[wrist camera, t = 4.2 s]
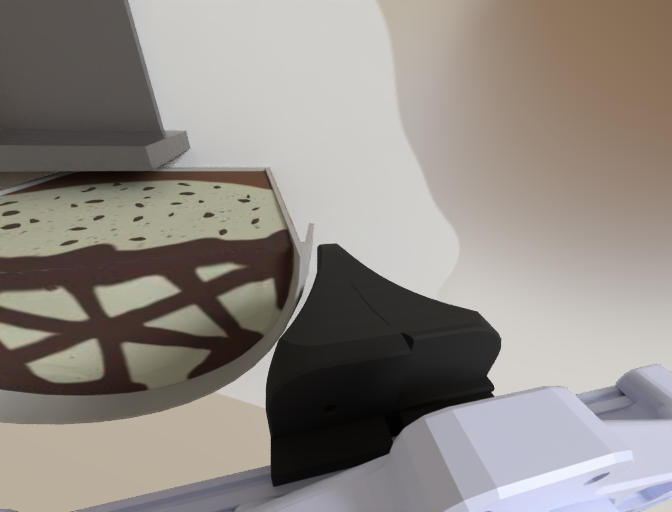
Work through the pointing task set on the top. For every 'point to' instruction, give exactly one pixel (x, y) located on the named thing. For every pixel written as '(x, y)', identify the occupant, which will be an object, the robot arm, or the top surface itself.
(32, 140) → the bookend
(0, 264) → the food container
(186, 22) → the top surface
